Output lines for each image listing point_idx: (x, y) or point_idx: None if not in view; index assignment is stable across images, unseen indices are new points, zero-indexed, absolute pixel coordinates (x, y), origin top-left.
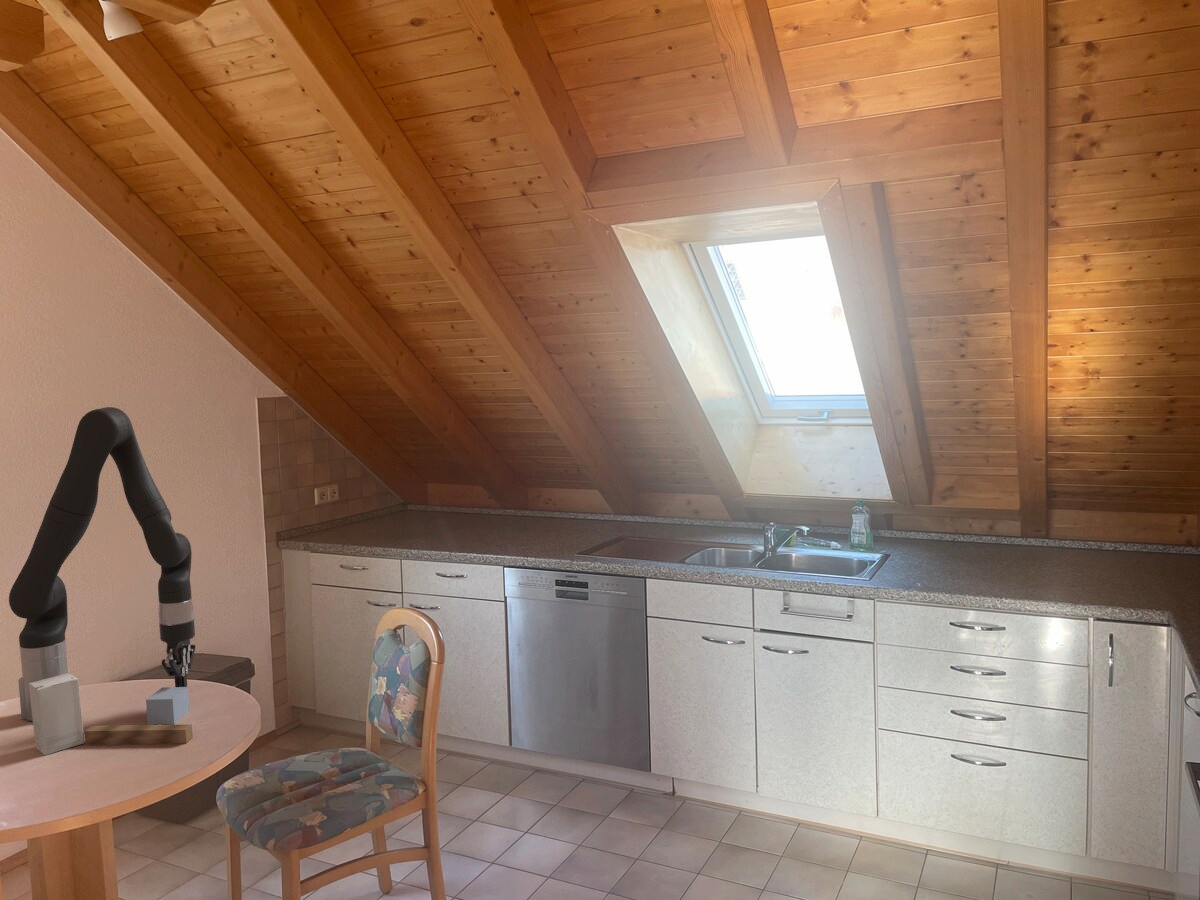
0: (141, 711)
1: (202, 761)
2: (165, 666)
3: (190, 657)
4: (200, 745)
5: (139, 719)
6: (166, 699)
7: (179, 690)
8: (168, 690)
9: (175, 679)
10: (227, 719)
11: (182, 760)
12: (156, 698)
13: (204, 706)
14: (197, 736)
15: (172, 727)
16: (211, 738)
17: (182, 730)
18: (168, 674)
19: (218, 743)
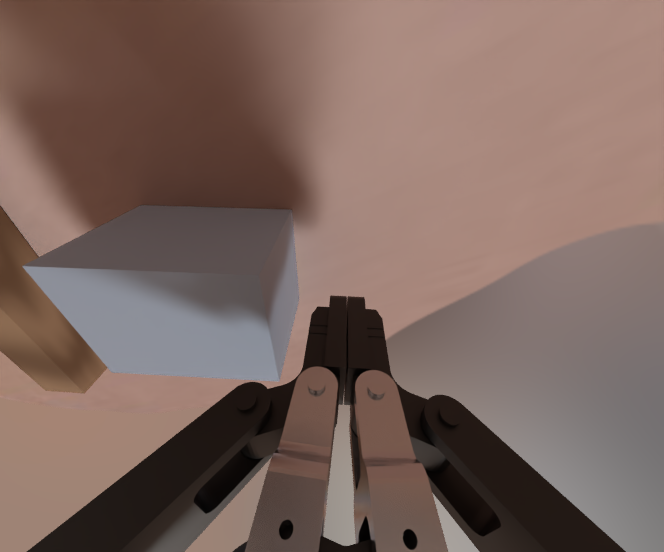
0: (297, 69)
1: (32, 396)
2: (58, 545)
3: (476, 545)
4: None
5: (184, 127)
6: (97, 352)
7: (224, 366)
8: (212, 325)
9: (305, 361)
10: None
11: (8, 372)
12: (75, 312)
13: None
14: None
15: (33, 363)
16: (132, 386)
17: (41, 384)
18: (213, 406)
19: (116, 399)
